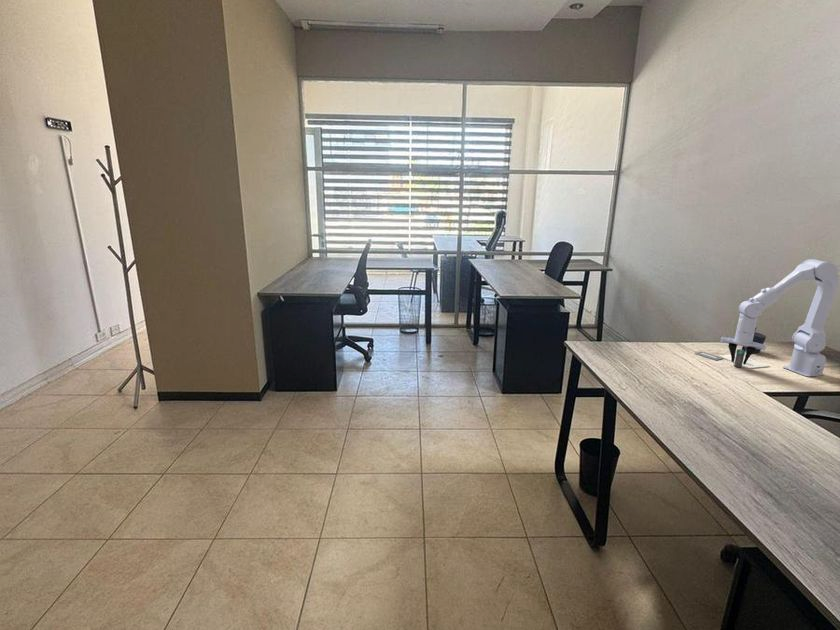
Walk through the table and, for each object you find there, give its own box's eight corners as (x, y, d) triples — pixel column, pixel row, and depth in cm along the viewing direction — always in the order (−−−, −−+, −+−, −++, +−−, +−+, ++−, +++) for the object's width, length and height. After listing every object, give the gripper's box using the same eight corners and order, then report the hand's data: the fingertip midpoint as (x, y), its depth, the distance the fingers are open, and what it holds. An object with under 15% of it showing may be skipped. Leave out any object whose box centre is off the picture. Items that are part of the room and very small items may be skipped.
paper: (769, 366, 170) (769, 365, 169) (748, 368, 168) (748, 367, 168) (737, 354, 183) (737, 353, 183) (718, 356, 181) (718, 355, 181)
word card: (723, 358, 178) (723, 357, 178) (716, 360, 176) (716, 359, 176) (701, 351, 186) (701, 351, 186) (694, 353, 184) (694, 353, 184)
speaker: (736, 347, 190) (744, 326, 186) (747, 347, 191) (755, 326, 187) (751, 355, 183) (759, 333, 180) (762, 355, 184) (770, 333, 180)
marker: (743, 367, 169) (746, 351, 167) (738, 367, 169) (741, 351, 167) (737, 364, 172) (740, 348, 170) (732, 365, 171) (735, 349, 169)
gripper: (769, 332, 164) (762, 364, 168) (725, 325, 174) (718, 355, 177) (767, 336, 159) (760, 369, 163) (722, 329, 169) (715, 360, 172)
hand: (738, 362), depth 170 cm, fingers open, 3 cm apart
